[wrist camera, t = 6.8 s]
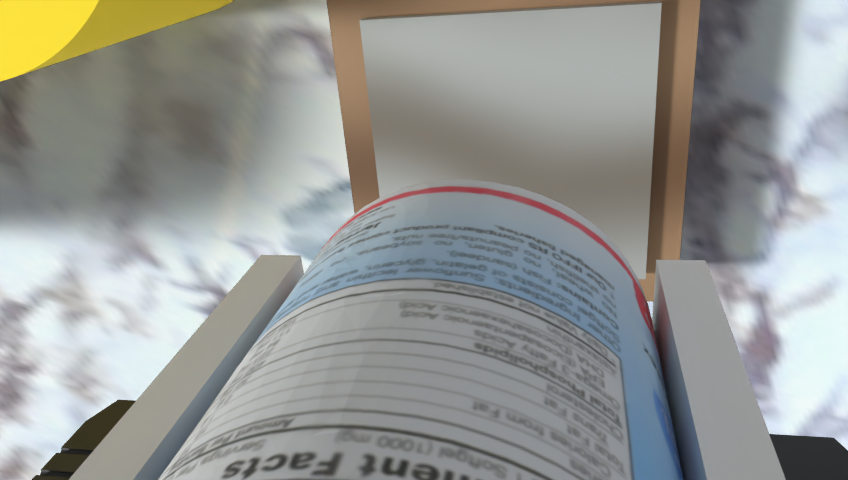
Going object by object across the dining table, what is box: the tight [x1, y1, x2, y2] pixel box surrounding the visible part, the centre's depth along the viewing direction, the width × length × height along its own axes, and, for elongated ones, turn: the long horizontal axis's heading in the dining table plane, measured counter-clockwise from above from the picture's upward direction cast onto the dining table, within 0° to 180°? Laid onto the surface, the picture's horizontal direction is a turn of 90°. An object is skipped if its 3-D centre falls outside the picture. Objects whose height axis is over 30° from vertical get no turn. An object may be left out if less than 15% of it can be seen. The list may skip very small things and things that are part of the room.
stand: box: [327, 0, 700, 301], centre depth 22 cm, size 10×10×3 cm
